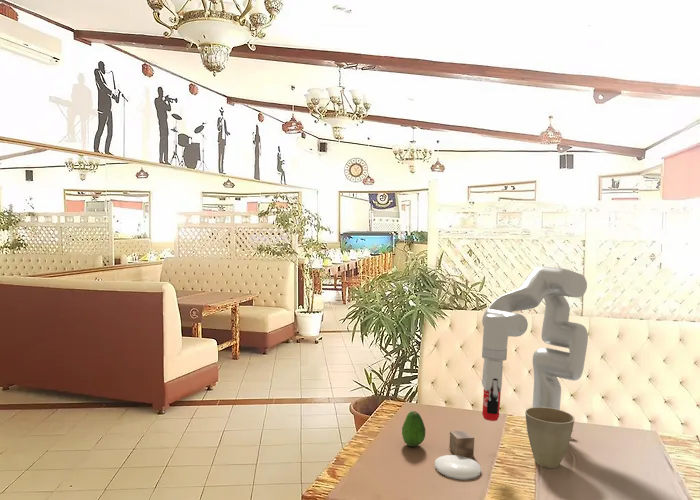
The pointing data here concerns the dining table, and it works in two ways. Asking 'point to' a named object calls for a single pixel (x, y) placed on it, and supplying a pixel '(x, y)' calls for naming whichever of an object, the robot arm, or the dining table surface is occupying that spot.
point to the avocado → (413, 429)
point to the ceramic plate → (458, 467)
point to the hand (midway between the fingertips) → (490, 409)
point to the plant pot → (548, 434)
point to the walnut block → (461, 443)
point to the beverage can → (486, 415)
